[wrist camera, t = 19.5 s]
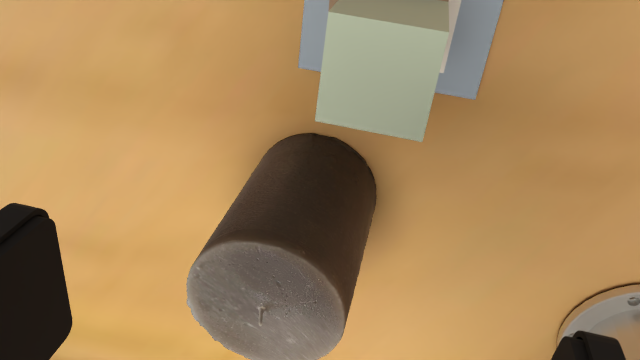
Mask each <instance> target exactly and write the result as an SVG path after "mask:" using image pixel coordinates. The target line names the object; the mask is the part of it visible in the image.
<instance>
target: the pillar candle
mask: <svg viewBox="0 0 640 360" xmlns="http://www.w3.org/2000/svg"><path fill="white" fill-rule="evenodd" d="M375 205H376V185H375V182H374V177H373V175H372V173H371V170H370V168H369V167H368V166H367V164H366V162H365V161H364V159H363V158H362V157H361V156H360V155H359V154H358V153H357V152H356V151H354V150H353V149H352V148H350V147H349V146H348V145H347V144H345V143H344V142H342V141H340V140H338V139H336V138H333V137H327V136H321V135H317V134H299V135H294V136H291V137H288V138H285V139H284V140H281V141H280V142H278V143H277V144H275V145H274V146H273V147H272V148H271V149H269V150H268V152H267V153H266V154H265V156H264V157H263V158H262V160H261V161H260V163H259V164H258V166H257V167H256V169H255V170H254V172H253V173H252V175H251V177H250V178H249V180H248V181H247V183H246V184H245V186H244V187H243V189H242V190H241V192H240V193H239V195H238V196H237V198H236V199H235V201H234V202H233V204H232V205H231V207H230V208H229V210H228V211H227V213H226V215H225V216H224V218H223V219H222V221H221V222H220V224H219V225H218V227H217V228H216V230H215V231H214V233H213V234H212V236H211V237H210V239H209V240H208V242H207V243H206V245H205V246H204V248H203V250H202V251H201V253H200V254H199V256H198V257H197V259H196V260H195V262H194V264H193V265H192V267H191V269H190V272H189V275H188V278H187V305H188V307H190V308H191V312H192V315H193V317H194V318H195V320H196V321H198V322H199V323H200V326H203V327H204V328H205V329H206V330H207V331H208V332H209V334H210V335H211V336H212V338H213V339H214V340H215V341H219V342H220V343H221V344H222V345H223V346H224V347H225V348H227V349H228V350H231V351H233V352H235V353H237V354H240V355H243V356H244V357H245V358H248V359H251V360H317V359H319V358H321V357H323V356H325V355H327V354H328V353H329V352H330V351H331V350H333V349H334V347H335V346H336V345H337V344H338V343H339V341H340V340H341V338H342V335H343V332H344V328H345V325H346V321H347V317H348V313H349V309H350V305H351V301H352V298H353V294H354V289H355V286H356V281H357V277H358V275H359V270H360V265H361V261H362V258H363V253H364V249H365V246H366V242H367V238H368V234H369V229H370V226H371V222H372V217H373V213H374V210H375Z"/></svg>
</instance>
